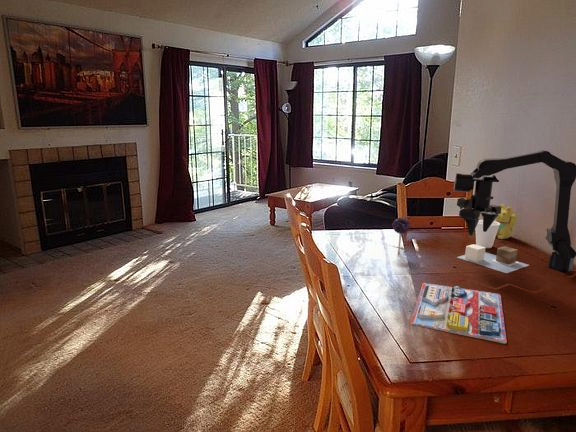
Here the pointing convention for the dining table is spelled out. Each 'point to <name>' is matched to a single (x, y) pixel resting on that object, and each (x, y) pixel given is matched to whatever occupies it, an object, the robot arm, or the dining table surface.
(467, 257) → the cream block
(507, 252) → the walnut block
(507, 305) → the dining table surface
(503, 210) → the figurine
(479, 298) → the puzzle board
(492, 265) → the mat
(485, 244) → the cup
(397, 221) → the lollipop
